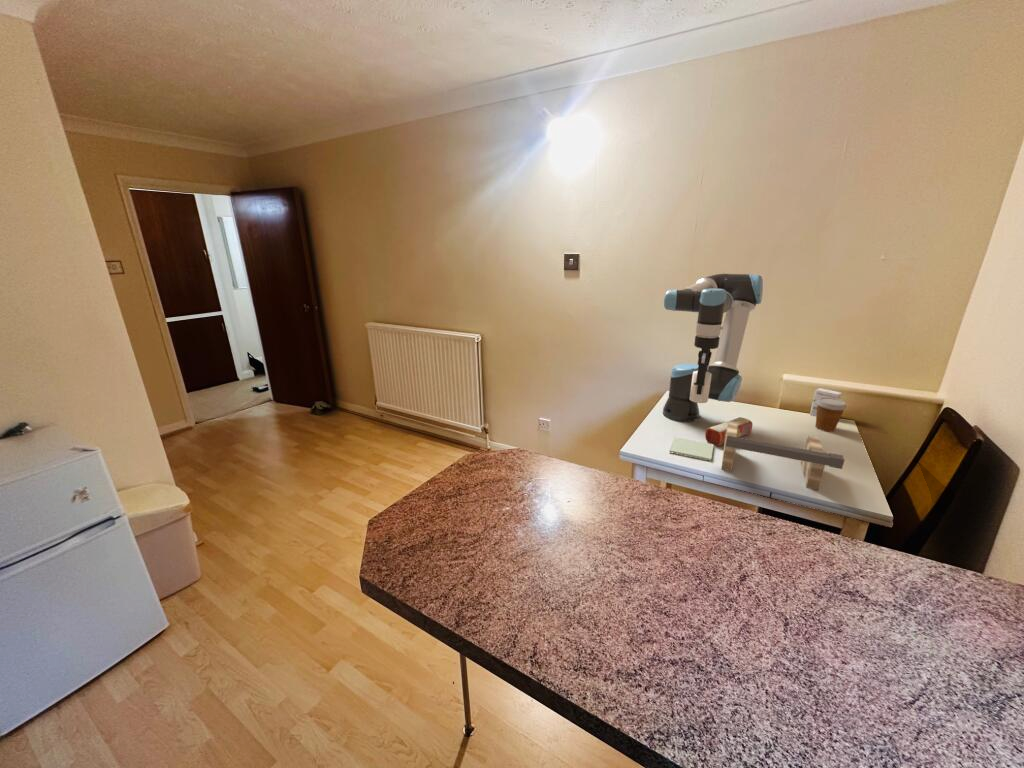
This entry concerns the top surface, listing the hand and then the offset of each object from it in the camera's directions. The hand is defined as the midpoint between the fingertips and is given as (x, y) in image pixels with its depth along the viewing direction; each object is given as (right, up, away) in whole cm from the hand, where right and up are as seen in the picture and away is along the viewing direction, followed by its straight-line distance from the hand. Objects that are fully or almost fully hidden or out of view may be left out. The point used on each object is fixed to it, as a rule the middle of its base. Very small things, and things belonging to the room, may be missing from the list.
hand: (698, 398), depth 143 cm
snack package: (+19, -16, +16) cm, 29 cm away
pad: (0, -19, +7) cm, 20 cm away
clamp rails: (+21, -23, -5) cm, 32 cm away
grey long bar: (+16, -17, -19) cm, 30 cm away
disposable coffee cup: (+62, -13, +21) cm, 66 cm away
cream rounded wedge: (0, 0, 0) cm, 0 cm away
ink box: (+69, -9, +32) cm, 77 cm away
